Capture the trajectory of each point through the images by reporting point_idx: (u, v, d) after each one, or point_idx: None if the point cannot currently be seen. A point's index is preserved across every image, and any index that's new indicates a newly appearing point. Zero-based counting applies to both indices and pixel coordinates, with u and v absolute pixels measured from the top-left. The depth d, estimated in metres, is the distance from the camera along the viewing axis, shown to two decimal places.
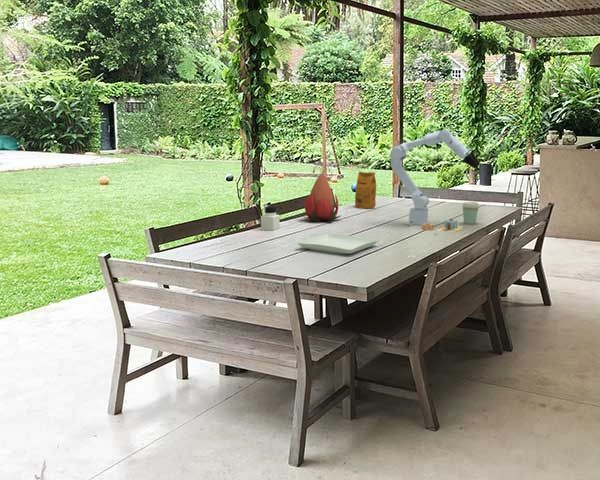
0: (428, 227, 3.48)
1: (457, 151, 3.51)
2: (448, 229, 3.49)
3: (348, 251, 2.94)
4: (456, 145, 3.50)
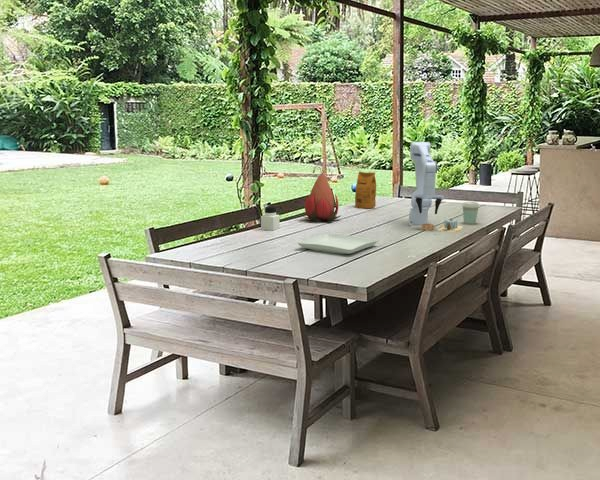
0: (428, 227, 3.48)
1: None
2: (448, 229, 3.49)
3: (348, 251, 2.94)
4: (424, 184, 3.45)
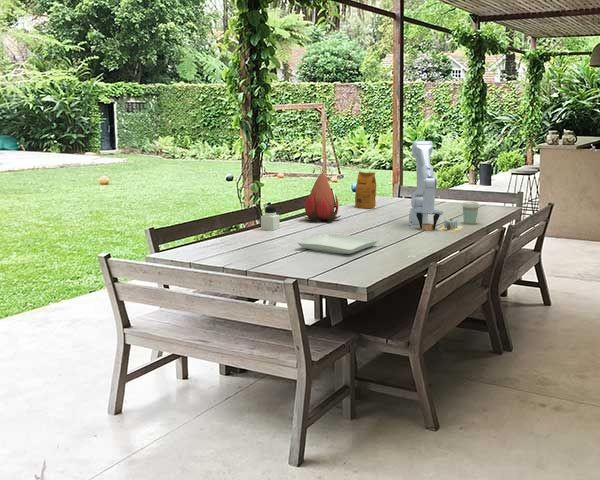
0: (428, 227, 3.48)
1: None
2: (448, 229, 3.49)
3: (348, 251, 2.94)
4: (423, 199, 3.47)
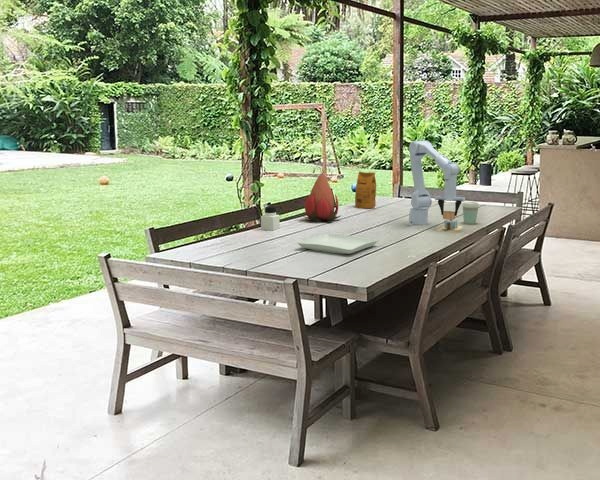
0: (450, 215, 3.45)
1: None
2: (448, 229, 3.49)
3: (348, 251, 2.94)
4: (447, 186, 3.43)
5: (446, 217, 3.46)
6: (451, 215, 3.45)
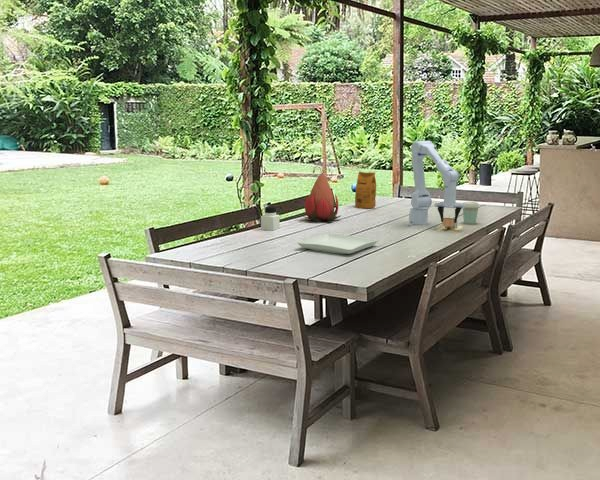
0: (449, 221, 3.46)
1: None
2: (448, 229, 3.49)
3: (348, 251, 2.94)
4: (447, 193, 3.44)
5: (446, 224, 3.47)
6: (451, 222, 3.46)
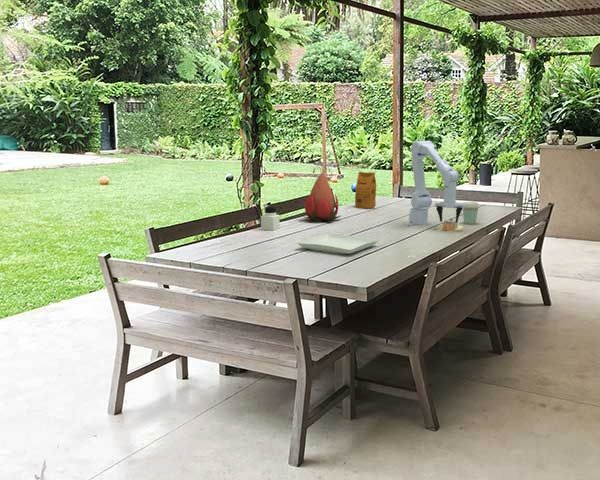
0: (449, 225, 3.46)
1: None
2: None
3: (348, 251, 2.94)
4: (447, 193, 3.44)
5: (446, 228, 3.47)
6: (451, 226, 3.46)
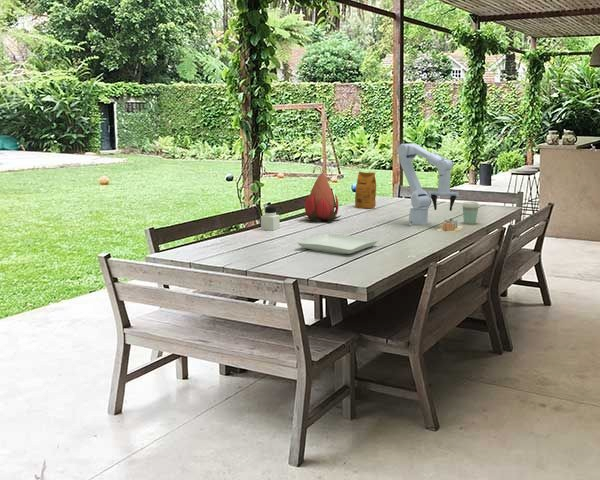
0: (449, 225, 3.46)
1: None
2: None
3: (348, 251, 2.94)
4: (442, 181, 3.49)
5: (446, 228, 3.47)
6: (451, 226, 3.46)
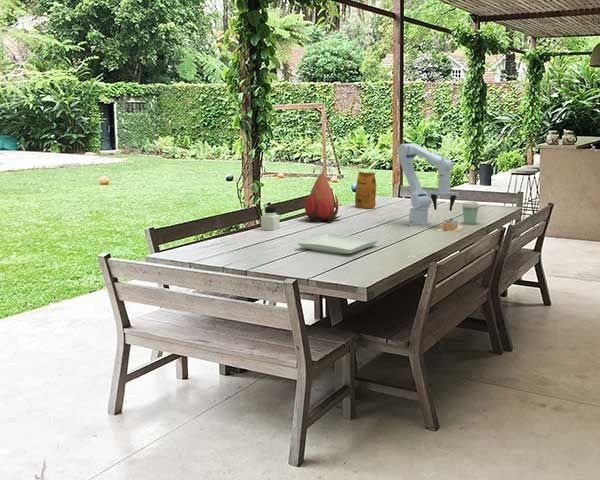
0: (449, 225, 3.46)
1: None
2: None
3: (348, 251, 2.94)
4: (442, 181, 3.49)
5: (446, 228, 3.47)
6: (451, 226, 3.46)
